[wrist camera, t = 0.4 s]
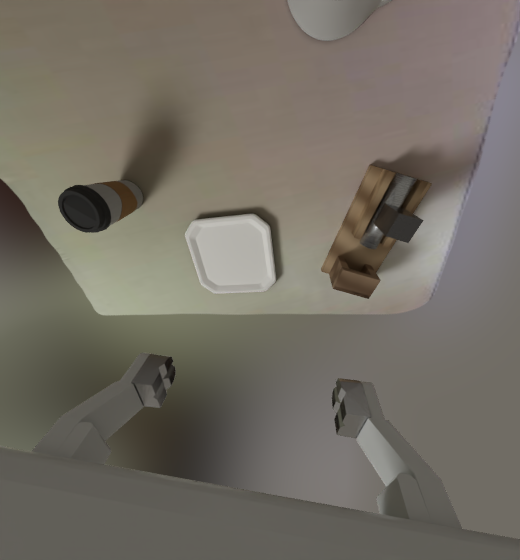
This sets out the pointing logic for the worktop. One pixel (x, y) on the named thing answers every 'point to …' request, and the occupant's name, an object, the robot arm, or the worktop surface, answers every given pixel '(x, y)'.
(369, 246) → the grey mallet
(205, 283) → the plate
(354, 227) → the cradle
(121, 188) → the coffee cup
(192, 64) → the worktop surface
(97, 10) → the worktop surface
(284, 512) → the robot arm
